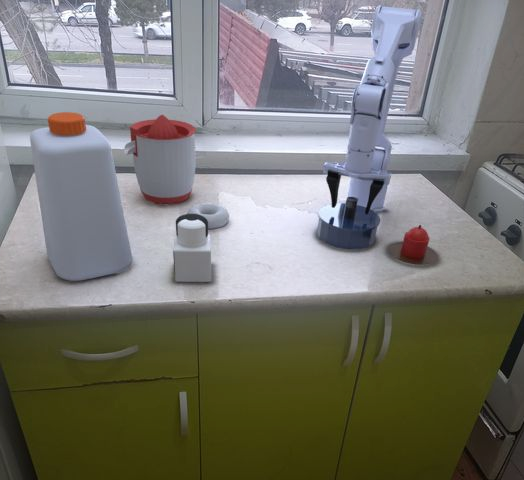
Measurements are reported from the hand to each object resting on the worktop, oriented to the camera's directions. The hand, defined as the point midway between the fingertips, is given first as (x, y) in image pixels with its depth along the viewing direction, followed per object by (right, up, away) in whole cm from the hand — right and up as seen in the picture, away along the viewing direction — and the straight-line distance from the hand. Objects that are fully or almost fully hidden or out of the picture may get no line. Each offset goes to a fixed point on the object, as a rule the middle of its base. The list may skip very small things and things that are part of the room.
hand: (350, 209), depth 116 cm
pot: (0, -5, +4) cm, 7 cm away
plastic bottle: (-55, -14, -11) cm, 58 cm away
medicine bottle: (-34, -17, -12) cm, 40 cm away
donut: (-33, -2, +6) cm, 34 cm away
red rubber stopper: (+14, -10, -1) cm, 17 cm away
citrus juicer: (-46, +7, +16) cm, 49 cm away
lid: (0, -2, +1) cm, 2 cm away
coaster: (+14, -10, 0) cm, 17 cm away
